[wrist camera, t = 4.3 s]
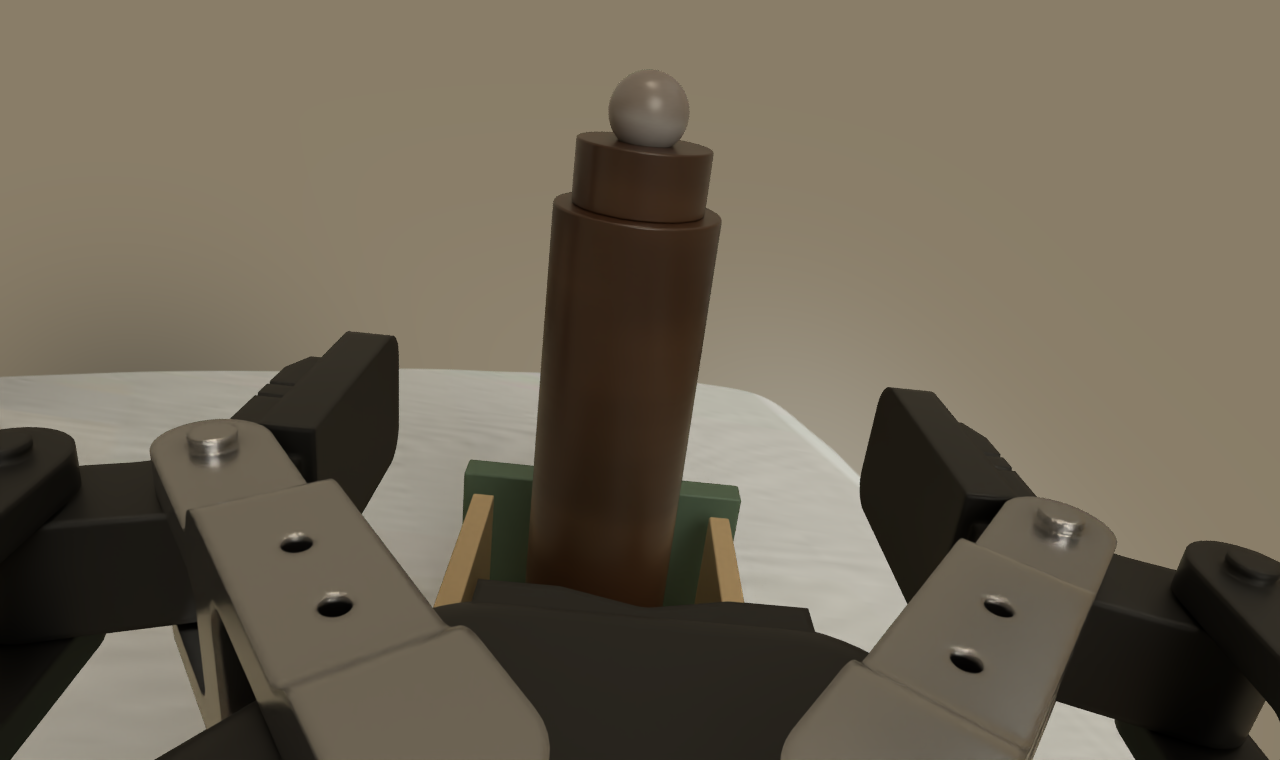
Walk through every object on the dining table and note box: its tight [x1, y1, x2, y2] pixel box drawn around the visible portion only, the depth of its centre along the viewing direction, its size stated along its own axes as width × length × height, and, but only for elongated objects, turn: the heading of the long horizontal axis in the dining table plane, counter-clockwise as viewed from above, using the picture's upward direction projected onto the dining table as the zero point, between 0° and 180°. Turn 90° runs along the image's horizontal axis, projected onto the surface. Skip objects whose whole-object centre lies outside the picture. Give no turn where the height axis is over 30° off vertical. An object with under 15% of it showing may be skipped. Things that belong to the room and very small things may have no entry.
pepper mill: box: [525, 69, 721, 608], centre depth 26 cm, size 5×5×22 cm
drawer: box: [433, 460, 744, 608], centre depth 32 cm, size 18×11×7 cm, turn 0°
